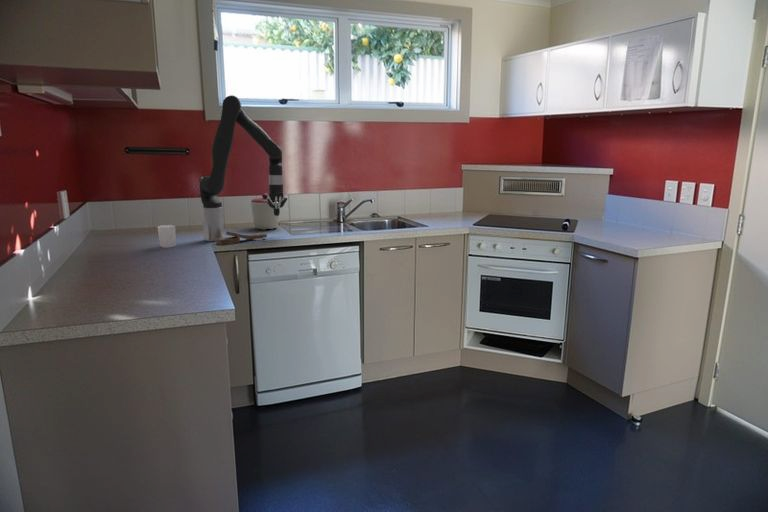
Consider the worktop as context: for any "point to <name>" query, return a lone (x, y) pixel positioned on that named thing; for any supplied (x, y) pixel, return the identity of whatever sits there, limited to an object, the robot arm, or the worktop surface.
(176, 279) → the worktop surface
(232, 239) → the domino
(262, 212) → the canister
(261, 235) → the domino
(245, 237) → the domino
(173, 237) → the white cup
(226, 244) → the domino
